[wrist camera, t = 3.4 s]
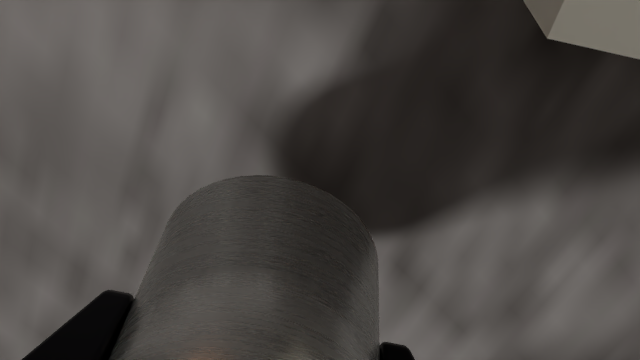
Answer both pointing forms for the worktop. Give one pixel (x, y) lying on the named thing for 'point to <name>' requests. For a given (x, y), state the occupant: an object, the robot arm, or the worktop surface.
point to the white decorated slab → (591, 23)
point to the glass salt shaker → (257, 279)
